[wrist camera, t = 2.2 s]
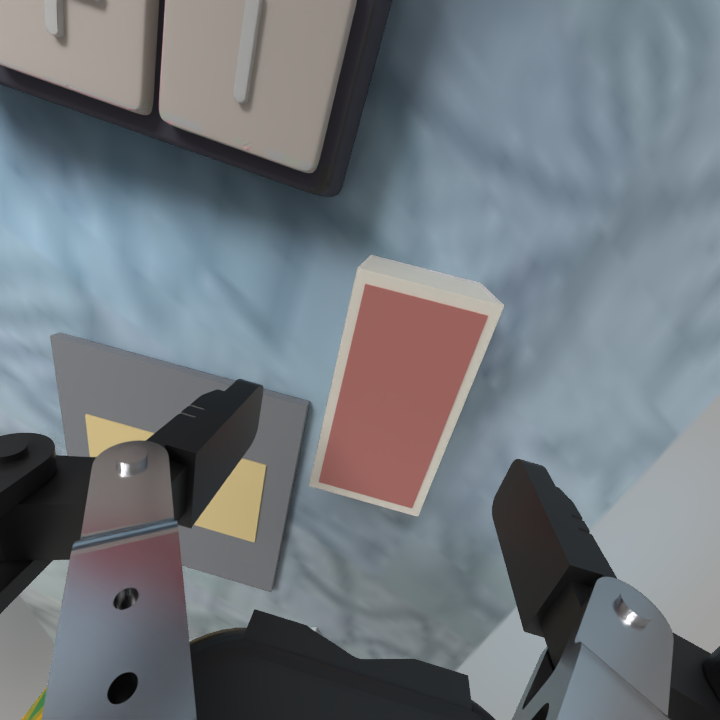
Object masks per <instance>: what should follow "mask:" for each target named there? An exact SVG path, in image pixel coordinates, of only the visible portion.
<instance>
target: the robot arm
mask: <svg viewBox="0 0 720 720" xmlns="http://www.w3.org/2000/svg"><path fill="white" fill-rule="evenodd" d="M262 398H263V386H262V385H259V384H256V383H252V382H249V381H245V380H242V379H238V380H236V381H235V382H234V383H233V384H232V385H231V386H230V387H229V388H228V389H226V390H225V391H222V390H218V389H217V390H214V391H211V392H208V393H206V394H203V395H201V396H200V397H199V398H197V399H196V400H195V401H194V402H192V403H191V404H190V406H187V407H186V408H185V409H184V410H183V411H181V414H178V415H176V416H175V417H174V418H173V419H172V420H170V421H169V422H168V423H167V424H165V425H164V426H163V427H162V428H160V429H159V430H158V431H157V432H156V433H154V434H153V435H152V436H151V437H149V438H148V439H147V440H146V441H141V440H138V441H128V442H123V443H120V444H117V445H114V446H112V447H110V448H108V449H106V450H104V451H103V452H102V453H100V454H99V455H98V456H97V457H80V456H58V455H56V454H55V446H54V442H53V441H52V440H51V439H50V438H49V437H47V436H44V435H41V434H36V433H15V434H8V435H3V436H0V613H1V612H2V611H3V610H4V609H5V608H6V607H7V606H8V605H9V604H10V603H11V602H12V601H13V600H14V599H15V598H16V597H17V596H18V595H19V594H20V593H21V592H22V591H23V590H24V589H25V588H26V587H27V586H28V585H29V584H30V583H31V582H32V581H33V580H34V579H35V578H36V577H37V576H38V575H39V574H40V573H41V572H42V571H43V570H44V569H45V568H46V567H47V566H48V565H49V564H50V563H51V562H52V561H53V560H68V559H70V561H69V567H68V572H67V578H66V584H65V589H64V595H63V601H62V606H61V612H60V618H59V623H58V629H57V635H56V640H55V646H54V651H53V657H52V663H51V669H50V674H49V680H48V685H47V691H46V697H45V702H44V708H43V714H42V719H41V720H495V719H494V718H493V717H492V716H491V715H490V714H489V713H488V712H487V711H485V710H484V709H483V708H482V707H481V706H479V705H478V704H477V703H475V702H474V701H472V700H471V696H470V688H469V680H468V675H464V674H461V673H458V672H455V671H452V670H448V669H445V668H442V667H439V666H436V665H432V664H429V663H426V662H423V661H419V660H416V659H358V658H356V657H354V656H352V655H350V654H349V653H347V652H346V651H344V650H343V649H341V648H340V647H338V646H337V645H335V644H334V643H332V642H331V641H329V640H328V639H326V638H325V637H323V636H322V635H320V634H319V633H317V632H315V631H314V630H312V629H311V628H309V627H308V626H306V625H304V624H300V623H297V622H294V621H291V620H287V619H284V618H281V617H278V616H275V615H271V614H268V613H265V612H262V611H258V610H254V612H253V614H252V617H251V619H250V622H249V624H248V627H247V628H232V629H225V630H220V631H217V632H213V633H209V634H206V635H204V636H202V637H199V638H197V639H194V640H192V641H190V642H189V634H188V624H187V613H186V603H185V593H184V582H183V572H182V562H181V552H180V541H179V531H178V525H180V526H184V527H187V528H190V529H191V528H192V526H193V525H194V524H195V522H196V521H197V520H198V518H199V517H200V515H201V514H202V513H203V511H204V510H205V508H206V507H207V506H208V504H209V503H210V502H211V500H212V499H213V497H214V496H215V495H216V493H217V492H218V491H219V489H220V488H221V486H222V485H223V484H224V482H225V481H226V479H227V478H228V477H229V475H230V474H231V473H232V471H233V470H234V468H235V467H236V466H237V464H238V463H239V462H240V460H241V459H242V457H243V456H244V455H245V453H246V452H247V451H248V449H249V448H250V446H251V445H252V443H253V441H254V439H255V436H256V433H257V430H258V425H259V418H260V411H261V405H262ZM492 516H493V520H494V524H495V528H496V531H497V535H498V539H499V542H500V546H501V550H502V553H503V557H504V560H505V564H506V568H507V571H508V575H509V579H510V582H511V586H512V590H513V593H514V597H515V600H516V604H517V608H518V611H519V615H520V619H521V622H522V626H523V630H524V631H525V632H528V633H531V634H534V635H538V636H541V637H544V638H545V641H546V644H547V647H546V649H545V650H544V651H543V652H542V654H541V656H540V658H539V660H538V663H537V665H536V667H535V669H534V672H533V674H532V676H531V678H530V681H529V683H528V685H527V687H526V689H525V692H524V694H523V696H522V698H521V700H520V703H519V705H518V707H517V710H516V712H515V714H514V716H513V718H512V720H720V646H719V647H718V648H717V649H716V650H715V651H714V652H713V653H712V654H710V653H709V652H707V651H705V650H703V649H701V648H699V647H698V646H696V645H694V644H692V643H691V642H689V641H687V640H685V639H683V638H682V637H680V636H678V635H676V634H674V633H672V630H671V628H670V625H669V624H668V622H667V620H666V619H665V617H664V616H663V614H662V613H661V612H660V611H659V610H658V608H657V607H656V606H655V605H654V604H653V603H652V602H651V601H650V600H649V599H648V598H647V597H645V596H644V595H643V594H642V593H641V592H639V591H638V590H637V589H635V588H634V587H632V586H631V585H629V584H627V583H625V582H623V581H621V580H619V579H617V578H616V576H615V574H614V572H613V571H612V569H611V567H610V566H609V564H608V562H607V560H606V558H605V557H604V555H603V554H602V552H601V550H600V548H599V547H598V545H597V543H596V541H595V540H594V538H593V536H592V534H589V532H590V531H589V529H588V527H587V526H586V524H585V522H584V521H582V517H581V515H580V513H579V512H578V510H577V508H576V507H575V505H574V503H573V502H572V501H571V500H570V499H569V498H568V497H567V496H566V495H565V494H564V493H563V492H562V491H561V490H560V488H558V487H556V486H555V484H554V483H553V481H552V479H551V477H550V475H549V473H548V472H547V470H546V468H545V467H544V466H541V465H538V464H534V463H531V462H527V461H524V460H520V459H516V460H515V461H513V463H512V464H511V466H510V468H509V470H508V472H507V474H506V476H505V478H504V480H503V482H502V484H501V486H500V488H499V490H498V492H497V493H496V495H495V498H494V501H493V506H492Z"/></svg>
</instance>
